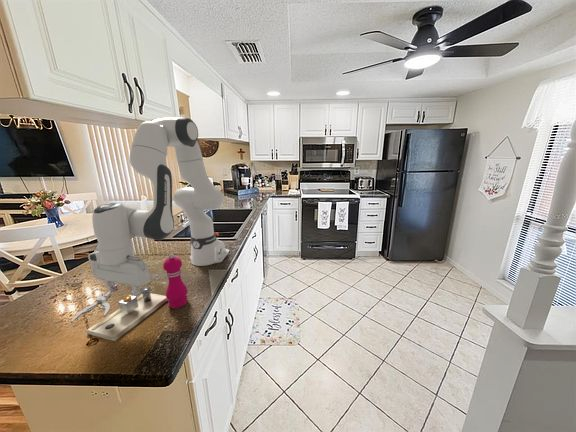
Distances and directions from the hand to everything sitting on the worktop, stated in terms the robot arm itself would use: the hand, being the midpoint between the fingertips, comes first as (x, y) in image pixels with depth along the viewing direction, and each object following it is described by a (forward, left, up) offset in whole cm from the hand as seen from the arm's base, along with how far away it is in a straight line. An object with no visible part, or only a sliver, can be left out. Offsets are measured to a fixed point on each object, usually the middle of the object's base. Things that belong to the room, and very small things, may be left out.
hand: (124, 292), depth 75 cm
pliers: (-2, -17, -10) cm, 20 cm away
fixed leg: (-8, 0, -8) cm, 11 cm away
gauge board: (-1, 0, -9) cm, 9 cm away
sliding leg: (-1, 0, -8) cm, 8 cm away
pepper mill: (-11, +11, -10) cm, 18 cm away
